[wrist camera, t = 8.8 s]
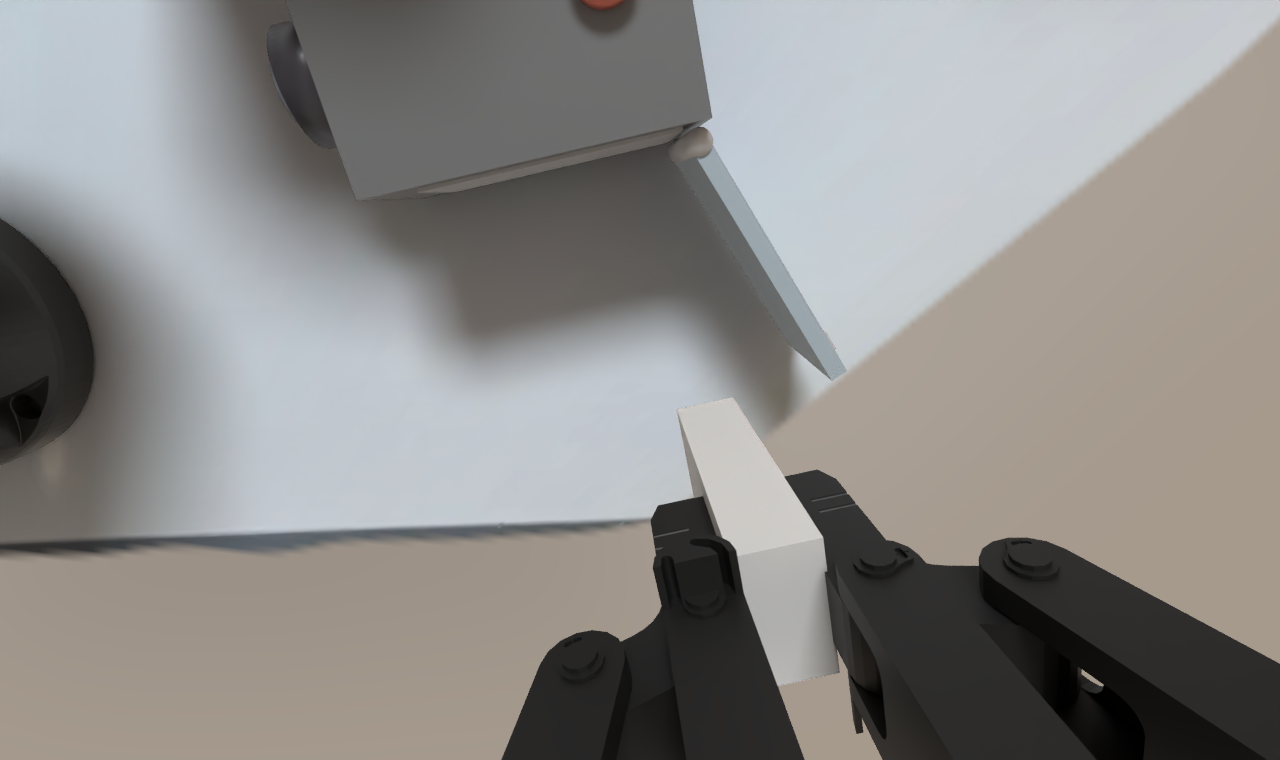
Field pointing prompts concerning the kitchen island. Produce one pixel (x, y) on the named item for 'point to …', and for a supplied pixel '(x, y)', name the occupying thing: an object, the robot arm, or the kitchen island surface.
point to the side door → (753, 249)
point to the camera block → (485, 85)
